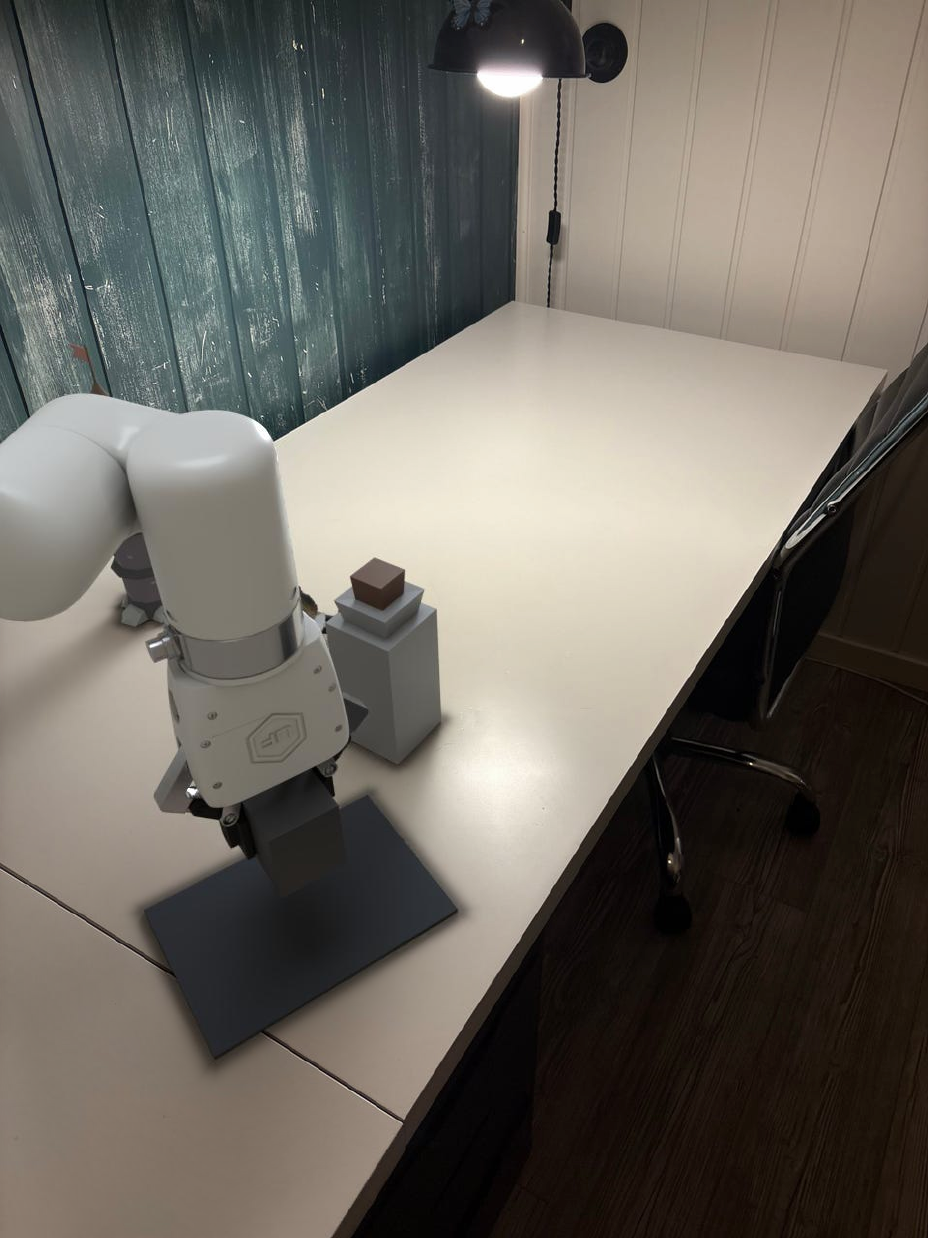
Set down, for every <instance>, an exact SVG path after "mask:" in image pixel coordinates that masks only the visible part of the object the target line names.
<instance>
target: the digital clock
mask: <svg viewBox="0 0 928 1238" xmlns="http://www.w3.org/2000/svg"><path fill="white" fill-rule="evenodd" d="M339 809H340V805H339V804H338V803H337V801H336V800H335V797H332V796H331V794H330V793H329V792H328V790H327V789H326V788H325V786H324V785H323V784H322V782H321V781H320V780H319V778H318V777H317V776H316V774H315V773H314V772H313V770H312V769H311V768H310V769H308V770H306V771H304V772H302V773H300V774H298V775H296V776H294V777H292V778H290V779H288V780H286V781H284V782H282V783H280V784H278V785H276V786H273V787H271V788H269V789H267V790H265V791H263V792H261V793H259V794H257V795H255V796H252V797H250V798H248V799H246V800H244V801H242V802H241V810H242V811H243V813H244V814H245V816H246V818H247V819H248V822H249V825H250V829H251V833H252V837H253V841H254V845H255V848H256V852H257V854H256V855H255V856H256V858H257V860H258V861H259V863H260V865H261V866H262V868H263V869H264V871H265V873H266V874H267V876H268V877H269V879H270V881H271V882H272V884H273V885H274V887H275V889H276V890H277V892H278V893H279V895H280V897H281V898H283V897H285V896H287V895H289V894H291V893H293V892H294V891H296V890H298V889H300V888H302V887H303V886H305V885H307V884H309V883H311V882H313V881H314V880H316V879H318V878H320V877H322V876H323V875H325V874H327V873H329V872H331V871H333V870H334V869H336V868H338V867H340V866H342V865H344V864H345V863H347V862H348V861H347V855H346V848H345V842H344V836H343V830H342V824H341V817H340V811H339Z"/></svg>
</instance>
